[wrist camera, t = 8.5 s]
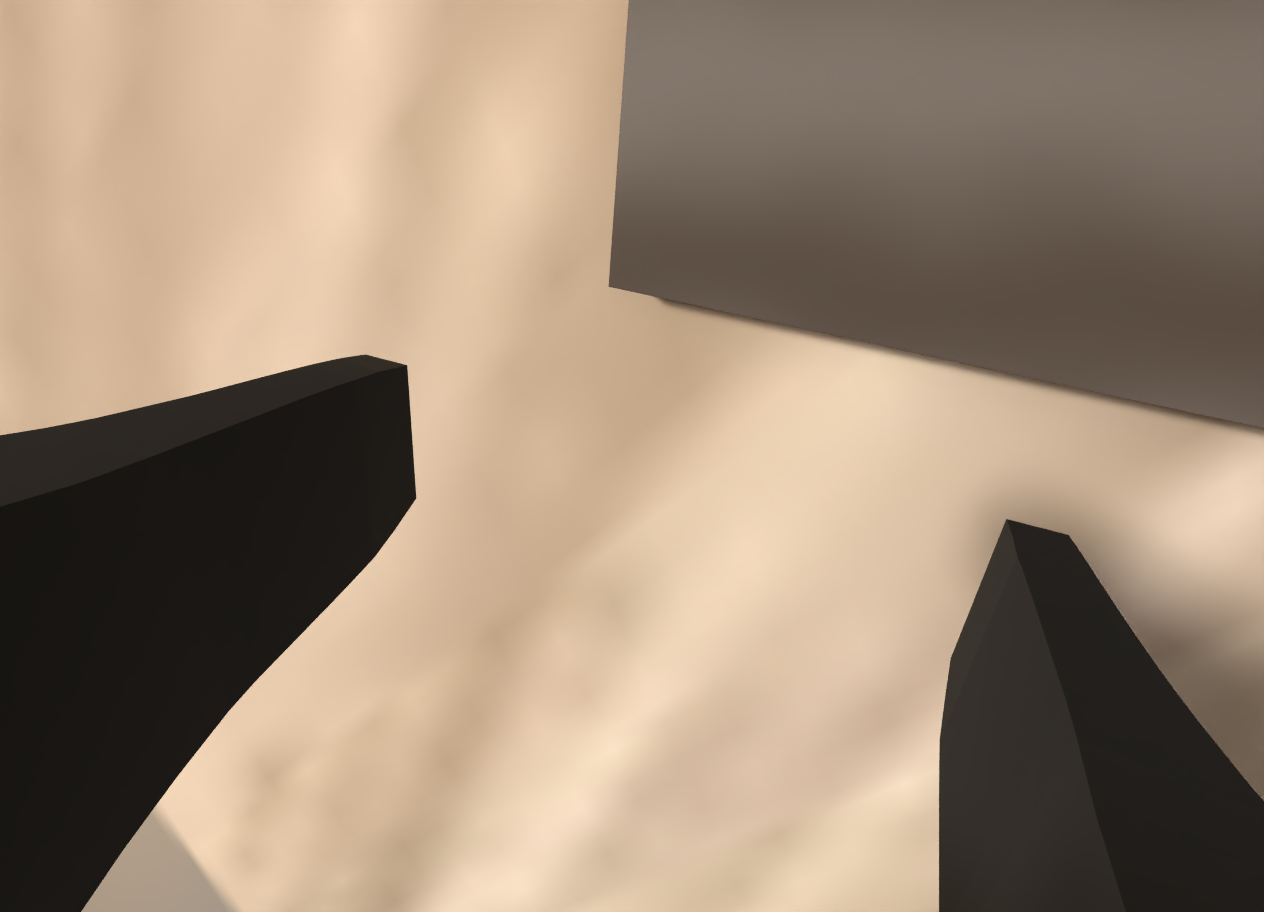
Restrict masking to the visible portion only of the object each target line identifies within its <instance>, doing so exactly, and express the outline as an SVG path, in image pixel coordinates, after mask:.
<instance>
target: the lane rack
mask: <svg viewBox="0 0 1264 912" xmlns="http://www.w3.org/2000/svg"><path fill="white" fill-rule="evenodd" d="M609 287H613V288H618V289H622V290H627V291H631V292H636V293H641V294H645V295H650V296H655V297H659V298H664V299H668V300H673V301H678V302H682V303H687V304H692V305H696V306H701V307H705V308H710V309H715V310H719V311H724V312H729V313H733V314H738V315H742V316H747V317H752V318H756V319H761V320H766V321H770V322H775V323H779V324H784V325H789V326H793V327H798V328H803V329H807V330H812V331H816V332H821V333H826V334H830V335H835V336H840V337H844V338H849V339H853V340H858V341H863V342H867V343H872V344H877V345H881V346H886V347H890V348H895V349H900V350H904V351H909V352H914V353H918V354H923V355H927V356H932V357H937V358H941V359H946V360H951V361H955V362H960V363H964V364H969V365H974V366H978V367H983V368H988V369H992V370H997V371H1001V372H1006V373H1011V374H1015V375H1020V376H1025V377H1029V378H1034V379H1038V380H1043V381H1048V382H1052V383H1057V384H1062V385H1066V386H1071V387H1075V388H1080V389H1085V390H1089V391H1094V392H1099V393H1103V394H1108V395H1112V396H1117V397H1122V398H1126V399H1131V400H1136V401H1140V402H1145V403H1149V404H1154V405H1159V406H1163V407H1168V408H1173V409H1177V410H1182V411H1186V412H1191V413H1196V414H1200V415H1205V416H1210V417H1214V418H1219V419H1223V420H1228V421H1233V422H1237V423H1242V424H1247V425H1251V426H1256V427H1260V428H1264V0H629V6H628V20H627V34H626V48H625V63H624V77H623V91H622V105H621V119H620V134H619V148H618V162H617V176H616V191H615V205H614V219H613V233H612V247H611V262H610V276H609Z"/></svg>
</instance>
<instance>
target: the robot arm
mask: <svg viewBox="0 0 1264 912" xmlns="http://www.w3.org/2000/svg"><path fill="white" fill-rule="evenodd" d="M415 499H416V488H415V473H414V459H413V444H412V430H411V415H410V400H409V386H408V371H407V365H404V364H400V363H396V362H392V361H388V360H384V359H380V358H377V357H373V356H369V355H360V356H353V357H346V358H340V359H335V360H331V361H326V362H321V363H317V364H313V365H308V366H304V367H300V368H296V369H292V370H288V371H284V372H281V373H277V374H273V375H269V376H265V377H261V378H258V379H254V380H250V381H246V382H242V383H238V384H235V385H231V386H227V387H223V388H219V389H216V390H212V391H208V392H204V393H200V394H197V395H193V396H189V397H184V398H180V399H176V400H172V401H167V402H163V403H159V404H155V405H150V406H146V407H142V408H137V409H133V410H129V411H125V412H120V413H116V414H112V415H108V416H103V417H99V418H94V419H89V420H85V421H80V422H75V423H70V424H64V425H59V426H54V427H48V428H43V429H37V430H31V431H25V432H19V433H12V434H6V435H0V912H81V911H82V909H83V908H84V906H85V905H86V903H87V902H88V901H89V899H90V898H91V896H92V895H93V893H94V892H95V890H96V889H97V888H98V886H99V885H100V883H101V882H102V880H103V879H104V877H105V876H106V874H107V872H108V871H109V870H110V868H111V867H112V866H113V864H114V862H115V861H116V860H117V858H118V857H119V855H120V854H121V852H122V851H123V849H124V848H125V847H126V845H127V844H128V843H129V841H130V840H131V838H132V837H133V836H134V834H135V833H136V832H137V830H138V829H139V828H140V826H141V825H142V824H143V822H144V821H145V819H146V818H147V817H148V815H149V814H150V813H151V811H152V810H153V809H154V807H155V806H156V805H157V803H158V802H159V800H160V799H161V798H162V796H163V795H164V794H165V792H166V791H167V790H168V788H169V787H170V786H171V784H172V783H173V781H174V780H175V779H176V777H177V776H178V775H179V774H180V772H181V771H182V770H183V768H184V767H185V766H186V765H187V763H188V762H189V761H190V760H191V758H192V757H193V756H194V754H195V753H196V752H197V751H198V749H199V748H200V747H201V746H202V744H203V743H204V742H205V740H206V739H207V738H208V737H209V735H210V734H211V733H212V732H213V730H214V729H215V728H216V726H217V725H218V724H219V723H220V721H221V720H222V719H223V718H224V716H225V715H226V714H227V713H228V711H229V710H230V709H231V708H232V707H233V706H234V705H235V703H236V702H237V701H238V700H239V699H240V698H241V697H242V696H243V694H244V693H245V692H246V691H247V690H248V689H249V688H250V687H251V685H252V684H253V683H254V682H255V681H256V680H257V679H258V678H259V677H260V676H261V675H262V674H263V673H264V672H265V671H266V670H267V669H268V668H269V667H270V666H271V665H272V664H273V662H274V661H275V660H276V659H277V658H278V657H279V656H280V655H281V654H282V653H283V652H284V651H285V650H286V649H287V648H288V647H289V646H290V645H291V644H292V643H293V642H294V641H295V640H296V639H297V638H298V637H299V636H300V635H301V634H302V633H303V632H304V631H305V630H306V628H307V627H308V626H309V625H310V624H311V623H312V622H313V621H314V620H315V619H316V618H317V617H318V616H319V615H320V614H321V613H322V612H323V611H324V610H325V609H326V608H327V607H328V606H329V605H330V604H331V603H332V602H333V601H334V600H335V599H336V598H337V596H338V595H339V594H340V593H341V592H342V591H343V590H344V589H345V588H346V587H347V586H348V585H349V584H350V583H351V582H352V581H353V580H354V579H355V578H356V576H357V575H358V574H359V573H360V572H361V571H362V570H363V569H364V568H365V567H366V566H367V565H368V564H369V562H370V561H371V560H372V559H373V558H374V557H375V556H376V554H377V553H378V552H379V550H380V549H381V548H382V546H383V545H384V544H385V542H386V541H387V540H388V538H389V537H390V536H391V534H392V533H393V532H394V530H395V529H396V527H397V526H398V524H399V523H400V521H401V520H402V518H403V517H404V515H405V514H406V512H407V511H408V510H409V508H410V507H411V505H412V504H413V502H414V501H415ZM939 912H1264V801H1263V800H1262V799H1261V798H1260V796H1259V795H1258V794H1257V793H1256V792H1255V791H1254V790H1253V788H1252V787H1251V786H1250V785H1249V784H1248V782H1247V781H1246V780H1245V779H1244V778H1243V776H1242V775H1241V774H1240V773H1239V771H1238V770H1237V769H1236V768H1235V766H1234V765H1233V764H1232V763H1231V762H1230V760H1229V759H1228V758H1227V757H1226V755H1225V754H1224V753H1223V752H1222V750H1221V749H1220V748H1219V747H1218V745H1217V744H1216V743H1215V742H1214V740H1213V739H1212V738H1211V737H1210V735H1209V734H1208V733H1207V732H1206V730H1205V729H1204V728H1203V727H1202V725H1201V724H1200V723H1199V722H1198V721H1197V719H1196V718H1195V717H1194V715H1193V714H1192V713H1191V711H1190V710H1189V709H1188V707H1187V706H1186V705H1185V703H1184V702H1183V701H1182V699H1181V698H1180V697H1179V695H1178V694H1177V693H1176V691H1175V690H1174V689H1173V687H1172V686H1171V685H1170V683H1169V682H1168V681H1167V679H1166V678H1165V676H1164V675H1163V674H1162V672H1161V671H1160V670H1159V668H1158V667H1157V665H1156V664H1155V663H1154V661H1153V660H1152V658H1151V657H1150V655H1149V654H1148V653H1147V651H1146V650H1145V648H1144V647H1143V646H1142V644H1141V643H1140V641H1139V640H1138V638H1137V637H1136V635H1135V634H1134V632H1133V631H1132V630H1131V628H1130V627H1129V625H1128V624H1127V622H1126V621H1125V619H1124V618H1123V616H1122V615H1121V613H1120V612H1119V610H1118V609H1117V607H1116V606H1115V604H1114V603H1113V601H1112V600H1111V598H1110V597H1109V595H1108V594H1107V592H1106V591H1105V589H1104V588H1103V586H1102V585H1101V583H1100V582H1099V580H1098V578H1097V577H1096V575H1095V574H1094V572H1093V571H1092V569H1091V568H1090V566H1089V565H1088V563H1087V562H1086V560H1085V559H1084V557H1083V556H1082V554H1081V552H1080V551H1079V550H1078V548H1077V547H1076V545H1075V544H1074V542H1073V541H1072V539H1071V538H1070V537H1069V535H1066V534H1062V533H1058V532H1054V531H1051V530H1047V529H1043V528H1039V527H1035V526H1031V525H1027V524H1023V523H1019V522H1015V521H1012V520H1008V519H1006V522H1005V524H1004V527H1003V529H1002V532H1001V534H1000V537H999V539H998V542H997V544H996V547H995V549H994V552H993V554H992V557H991V559H990V562H989V564H988V567H987V569H986V572H985V574H984V577H983V579H982V582H981V584H980V587H979V589H978V592H977V594H976V597H975V599H974V602H973V604H972V607H971V609H970V612H969V614H968V617H967V619H966V622H965V624H964V627H963V629H962V632H961V634H960V637H959V639H958V642H957V644H956V647H955V649H954V652H953V654H952V657H951V661H950V668H949V675H948V682H947V689H946V696H945V703H944V711H943V719H942V727H941V734H940V761H939Z"/></svg>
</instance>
